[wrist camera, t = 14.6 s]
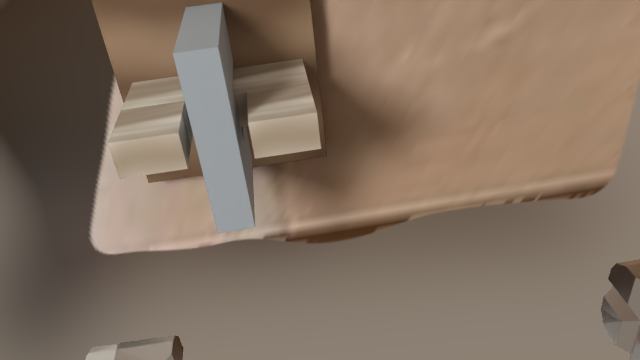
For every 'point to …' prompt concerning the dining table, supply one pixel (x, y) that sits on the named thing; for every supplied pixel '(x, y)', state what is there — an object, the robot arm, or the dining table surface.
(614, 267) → the robot arm
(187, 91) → the slotted plate
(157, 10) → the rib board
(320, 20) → the dining table surface
